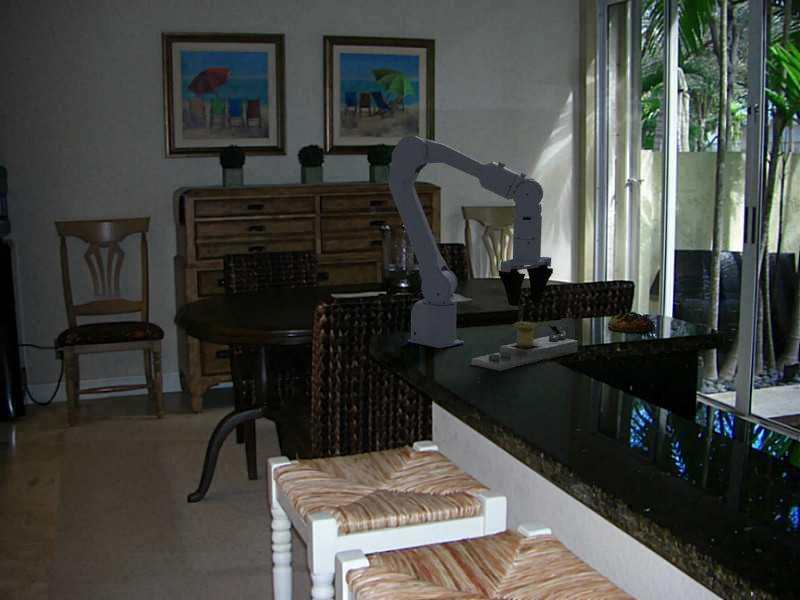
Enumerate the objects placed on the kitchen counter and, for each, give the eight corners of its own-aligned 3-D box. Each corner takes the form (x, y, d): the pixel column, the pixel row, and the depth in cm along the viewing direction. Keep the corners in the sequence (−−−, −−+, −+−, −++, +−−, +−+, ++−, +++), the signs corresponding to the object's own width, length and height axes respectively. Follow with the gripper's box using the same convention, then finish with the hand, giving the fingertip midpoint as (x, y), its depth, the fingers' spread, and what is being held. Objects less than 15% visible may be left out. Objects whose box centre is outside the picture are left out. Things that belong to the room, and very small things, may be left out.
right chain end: (499, 358, 188) (499, 342, 188) (549, 346, 200) (550, 332, 199) (527, 364, 183) (528, 347, 183) (577, 352, 195) (578, 336, 194)
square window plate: (471, 364, 182) (471, 354, 182) (522, 353, 193) (522, 343, 193) (499, 370, 177) (500, 360, 177) (549, 358, 188) (550, 348, 188)
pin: (508, 357, 189) (509, 323, 188) (523, 354, 192) (524, 320, 190) (526, 361, 185) (527, 326, 184) (540, 358, 188) (541, 323, 187)
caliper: (572, 342, 206) (573, 314, 205) (567, 342, 206) (569, 314, 205) (553, 325, 226) (553, 299, 225) (548, 325, 226) (549, 299, 225)
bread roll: (665, 331, 219) (663, 310, 218) (625, 341, 215) (623, 319, 214) (636, 325, 229) (634, 304, 228) (597, 334, 225) (595, 313, 224)
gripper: (520, 241, 187) (518, 309, 189) (564, 237, 197) (561, 302, 199) (492, 239, 192) (491, 305, 194) (536, 235, 202) (534, 298, 204)
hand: (525, 303), depth 197 cm, fingers open, 7 cm apart
